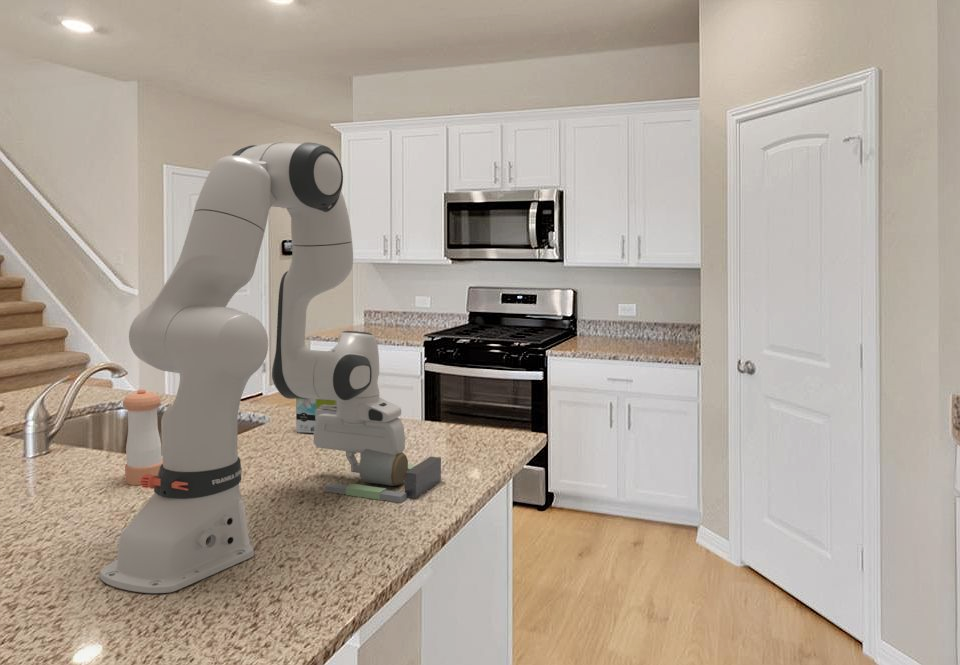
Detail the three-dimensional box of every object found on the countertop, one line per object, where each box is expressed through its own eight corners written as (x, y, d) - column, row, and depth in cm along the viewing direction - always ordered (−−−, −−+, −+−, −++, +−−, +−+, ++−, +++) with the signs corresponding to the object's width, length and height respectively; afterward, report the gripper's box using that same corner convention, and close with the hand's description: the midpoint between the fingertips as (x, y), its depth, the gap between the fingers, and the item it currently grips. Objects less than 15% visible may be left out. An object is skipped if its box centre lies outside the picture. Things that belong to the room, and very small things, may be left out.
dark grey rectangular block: (416, 498, 136) (416, 473, 135) (405, 497, 137) (405, 472, 136) (440, 480, 147) (441, 457, 147) (430, 479, 148) (430, 456, 148)
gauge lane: (400, 503, 134) (400, 495, 133) (324, 491, 139) (324, 484, 139) (439, 475, 151) (439, 468, 151) (370, 466, 157) (370, 459, 157)
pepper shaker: (149, 486, 141) (145, 393, 139) (117, 483, 143) (113, 391, 141) (171, 475, 148) (168, 387, 146) (141, 473, 150) (137, 385, 148)
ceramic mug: (394, 491, 140) (394, 453, 139) (358, 486, 143) (358, 449, 142) (416, 477, 150) (416, 441, 149) (382, 472, 153) (382, 438, 152)
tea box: (295, 433, 185) (294, 378, 184) (310, 425, 195) (309, 372, 194) (349, 436, 183) (349, 381, 181) (362, 427, 193) (361, 374, 191)
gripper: (307, 406, 146) (307, 470, 148) (394, 415, 139) (394, 482, 141) (323, 400, 152) (324, 462, 154) (408, 408, 145) (408, 473, 147)
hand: (358, 472), depth 147 cm, fingers closed
